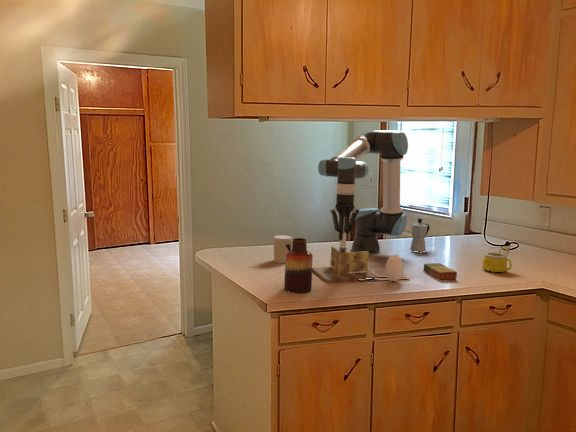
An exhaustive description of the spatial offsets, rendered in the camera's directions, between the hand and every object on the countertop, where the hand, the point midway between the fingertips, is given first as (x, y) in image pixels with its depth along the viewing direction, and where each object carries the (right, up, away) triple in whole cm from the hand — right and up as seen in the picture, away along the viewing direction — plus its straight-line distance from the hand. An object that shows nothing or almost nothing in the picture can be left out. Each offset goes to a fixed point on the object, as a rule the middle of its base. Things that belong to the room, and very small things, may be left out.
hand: (342, 247), depth 222 cm
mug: (+75, -13, +19) cm, 78 cm away
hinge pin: (0, -11, +2) cm, 11 cm away
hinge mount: (+1, -13, +5) cm, 13 cm away
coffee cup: (-27, -9, +26) cm, 38 cm away
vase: (-20, -16, -19) cm, 31 cm away
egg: (+21, -15, -4) cm, 26 cm away
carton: (+44, -14, +8) cm, 47 cm away
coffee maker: (+48, -6, +58) cm, 75 cm away
